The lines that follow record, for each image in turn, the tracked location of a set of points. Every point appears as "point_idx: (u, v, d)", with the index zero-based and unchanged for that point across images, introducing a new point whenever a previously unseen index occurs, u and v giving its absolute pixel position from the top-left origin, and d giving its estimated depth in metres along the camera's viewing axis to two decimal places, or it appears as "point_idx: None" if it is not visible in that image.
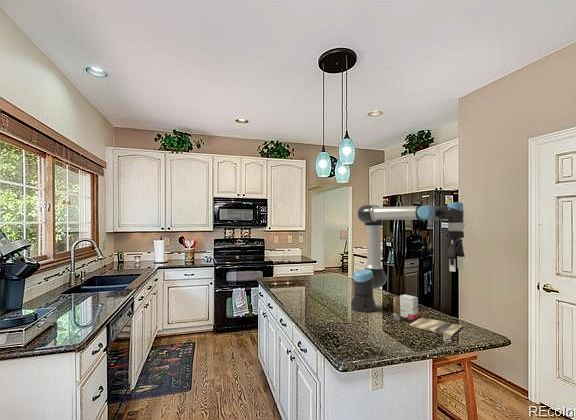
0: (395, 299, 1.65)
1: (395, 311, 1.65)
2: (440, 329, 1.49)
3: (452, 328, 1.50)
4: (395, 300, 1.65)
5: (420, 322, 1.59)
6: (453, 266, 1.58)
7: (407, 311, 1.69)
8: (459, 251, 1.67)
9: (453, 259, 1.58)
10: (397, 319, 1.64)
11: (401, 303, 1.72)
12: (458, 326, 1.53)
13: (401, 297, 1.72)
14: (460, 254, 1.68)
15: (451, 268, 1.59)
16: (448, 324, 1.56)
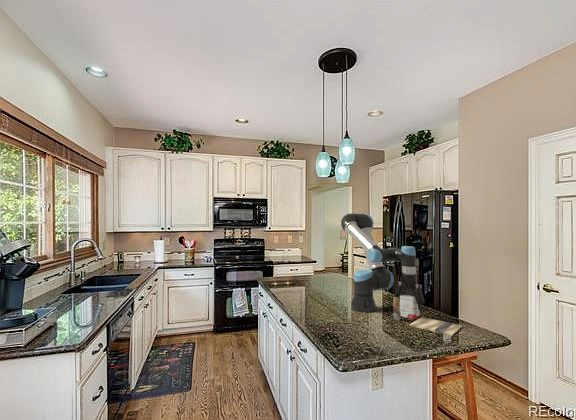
0: (395, 299, 1.65)
1: (395, 311, 1.65)
2: (440, 329, 1.49)
3: (452, 328, 1.50)
4: (395, 300, 1.65)
5: (420, 322, 1.59)
6: None
7: (407, 311, 1.69)
8: None
9: None
10: (397, 319, 1.64)
11: (401, 303, 1.72)
12: (458, 326, 1.53)
13: (401, 297, 1.72)
14: None
15: None
16: (448, 324, 1.56)
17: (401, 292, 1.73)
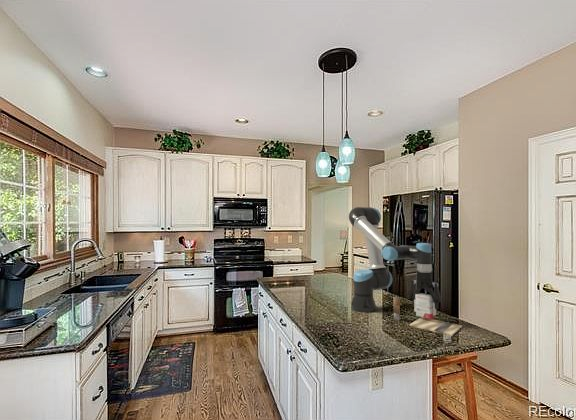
0: (395, 299, 1.65)
1: (395, 311, 1.65)
2: (440, 329, 1.49)
3: (452, 328, 1.50)
4: (395, 300, 1.65)
5: (420, 322, 1.59)
6: None
7: (423, 311, 1.63)
8: None
9: (414, 299, 1.68)
10: (397, 319, 1.64)
11: (417, 302, 1.66)
12: (458, 326, 1.53)
13: (417, 296, 1.66)
14: None
15: None
16: (448, 324, 1.56)
17: (416, 291, 1.67)
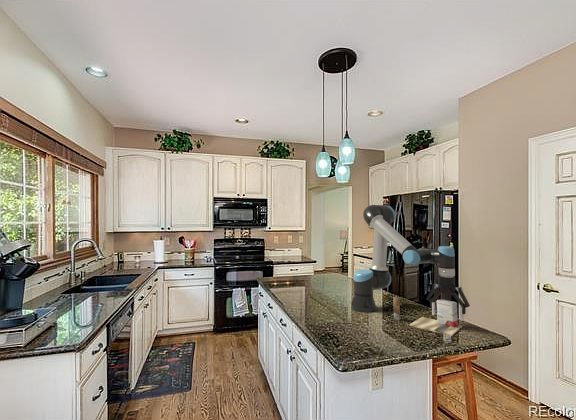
0: (395, 299, 1.65)
1: (395, 311, 1.65)
2: (440, 329, 1.49)
3: (452, 328, 1.50)
4: (395, 300, 1.65)
5: (420, 322, 1.59)
6: None
7: (445, 318, 1.55)
8: None
9: (431, 302, 1.62)
10: (397, 319, 1.64)
11: (438, 309, 1.58)
12: (458, 326, 1.53)
13: (438, 302, 1.59)
14: None
15: None
16: None
17: (436, 295, 1.60)
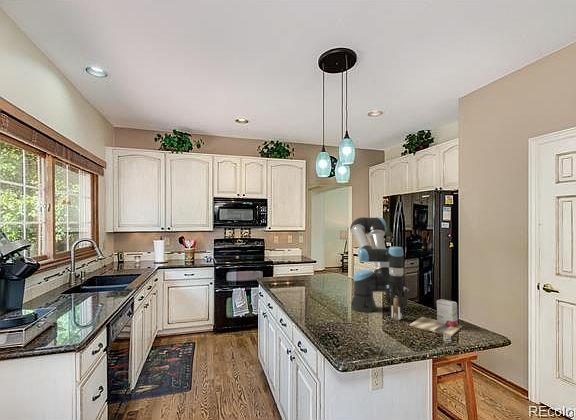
0: (395, 299, 1.65)
1: (395, 311, 1.65)
2: (440, 329, 1.49)
3: (452, 328, 1.50)
4: (395, 300, 1.65)
5: (420, 322, 1.59)
6: None
7: (445, 318, 1.55)
8: None
9: (392, 305, 1.67)
10: (397, 319, 1.64)
11: (438, 309, 1.58)
12: (458, 326, 1.53)
13: (438, 302, 1.58)
14: None
15: None
16: None
17: (391, 295, 1.67)
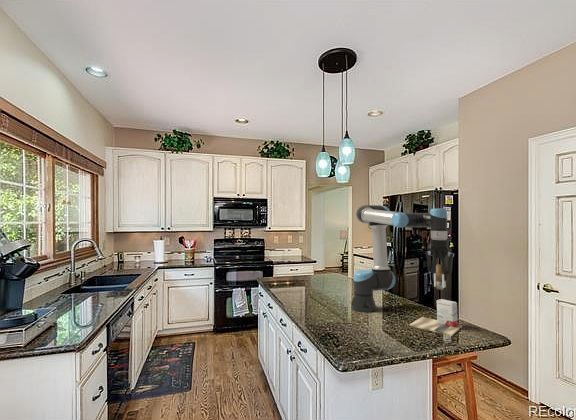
0: (438, 266, 1.49)
1: (438, 279, 1.49)
2: (440, 329, 1.49)
3: (452, 328, 1.50)
4: (438, 267, 1.49)
5: (420, 322, 1.59)
6: None
7: (445, 318, 1.55)
8: None
9: (434, 273, 1.51)
10: (441, 288, 1.48)
11: (438, 309, 1.58)
12: (458, 326, 1.53)
13: (438, 302, 1.58)
14: None
15: None
16: None
17: (434, 262, 1.51)
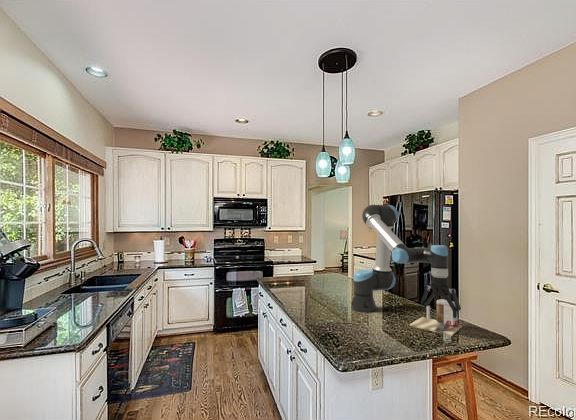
0: (439, 306, 1.48)
1: (439, 320, 1.48)
2: None
3: (452, 328, 1.50)
4: (439, 307, 1.48)
5: (420, 322, 1.59)
6: None
7: (445, 318, 1.55)
8: None
9: (426, 306, 1.53)
10: (441, 329, 1.47)
11: None
12: (458, 326, 1.53)
13: (438, 302, 1.58)
14: None
15: None
16: None
17: (430, 297, 1.51)
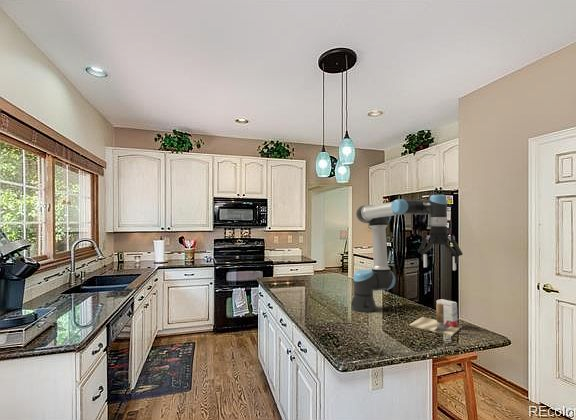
0: (439, 306, 1.48)
1: (439, 320, 1.48)
2: None
3: (452, 328, 1.50)
4: (439, 307, 1.48)
5: (420, 322, 1.59)
6: None
7: (445, 318, 1.55)
8: None
9: (423, 254, 1.55)
10: (441, 329, 1.47)
11: None
12: (458, 326, 1.53)
13: (438, 302, 1.59)
14: None
15: None
16: None
17: (428, 246, 1.53)
